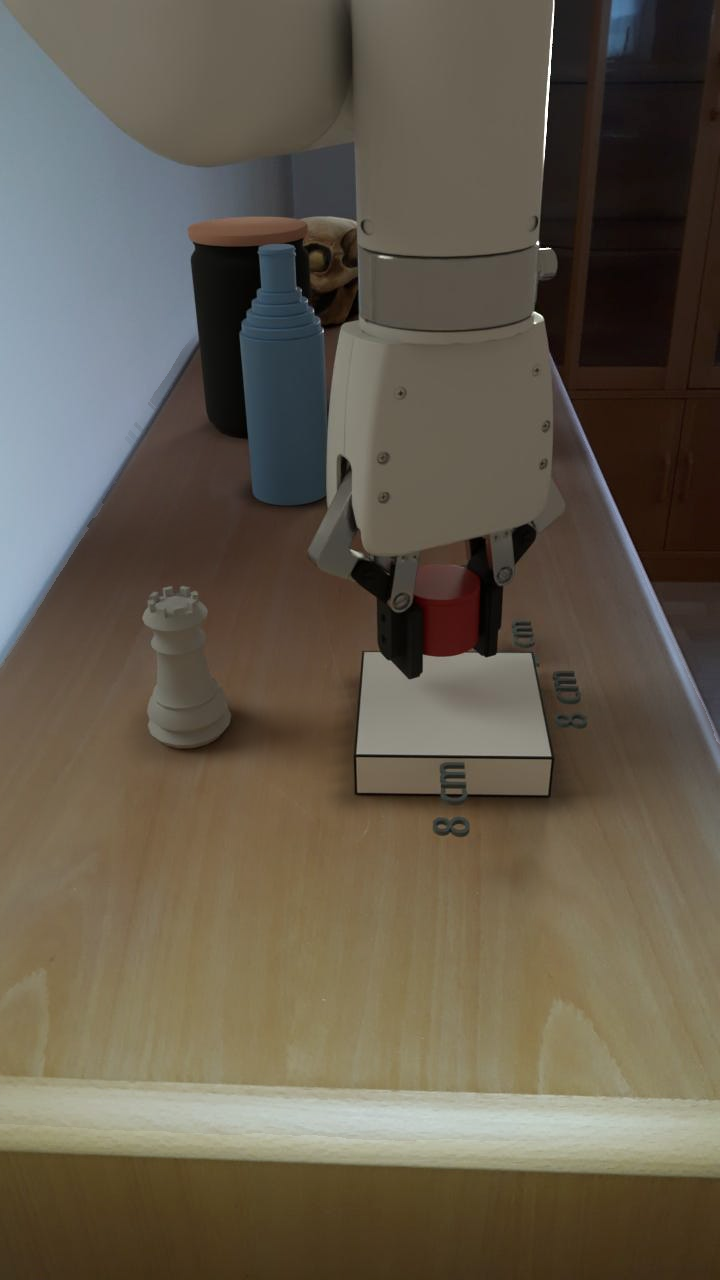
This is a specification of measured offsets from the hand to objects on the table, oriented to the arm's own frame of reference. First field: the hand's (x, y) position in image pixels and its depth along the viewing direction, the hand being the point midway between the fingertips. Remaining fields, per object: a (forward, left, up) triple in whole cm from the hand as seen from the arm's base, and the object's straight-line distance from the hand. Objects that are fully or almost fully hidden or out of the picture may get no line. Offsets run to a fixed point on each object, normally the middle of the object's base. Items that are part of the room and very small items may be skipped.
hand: (439, 651), depth 51 cm
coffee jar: (-26, +45, -4) cm, 52 cm away
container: (+2, -1, -4) cm, 5 cm away
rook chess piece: (-13, -4, -4) cm, 14 cm away
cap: (0, 0, +1) cm, 1 cm away
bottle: (-18, +29, -4) cm, 34 cm away
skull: (-33, +89, -4) cm, 95 cm away
